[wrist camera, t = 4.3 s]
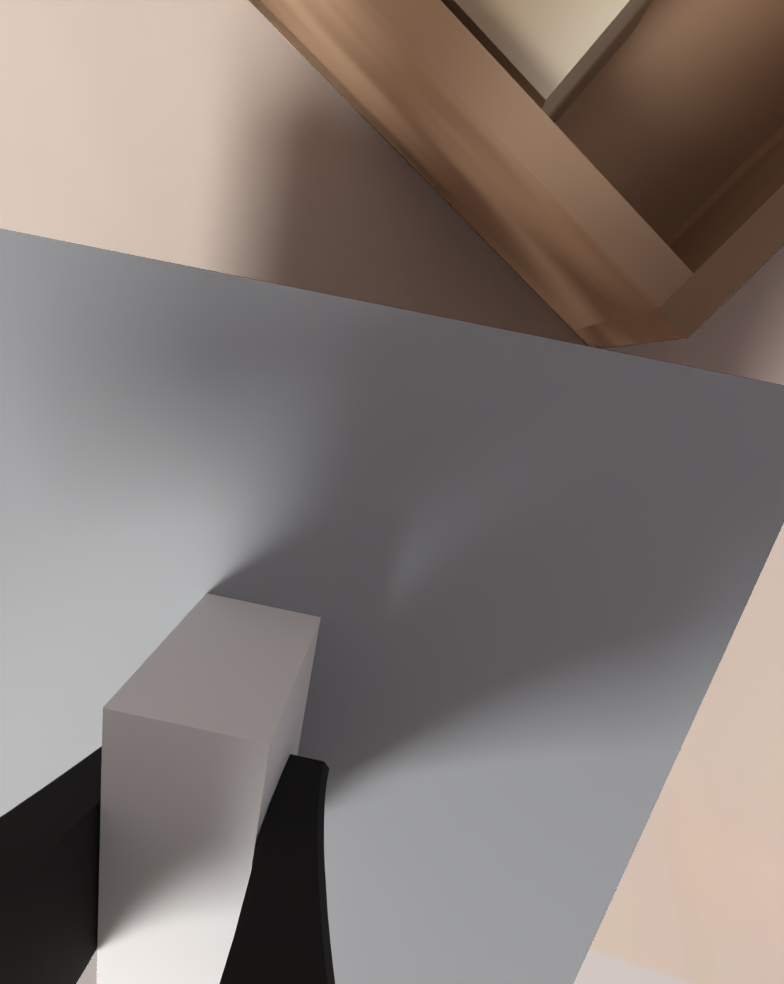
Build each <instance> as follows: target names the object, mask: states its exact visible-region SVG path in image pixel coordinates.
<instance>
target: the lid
mask: <svg viewBox="0 0 784 984" xmlns="http://www.w3.org/2000/svg"><path fill="white" fill-rule="evenodd" d="M783 523H784V385H779V384H774V383H769V382H764V381H759V380H754V379H749V378H744V377H739V376H734V375H729V374H724V373H719V372H714V371H709V370H704V369H699V368H694V367H689V366H684V365H679V364H674V363H669V362H664V361H659V360H654V359H649V358H644V357H639V356H634V355H629V354H624V353H619V352H614V351H609V350H604V349H599V348H594V347H589V346H584V345H579V344H574V343H569V342H564V341H559V340H554V339H549V338H544V337H539V336H534V335H529V334H524V333H519V332H514V331H509V330H504V329H499V328H494V327H489V326H484V325H479V324H474V323H469V322H464V321H459V320H454V319H449V318H444V317H439V316H434V315H429V314H424V313H419V312H414V311H409V310H404V309H399V308H394V307H389V306H384V305H379V304H374V303H369V302H364V301H359V300H354V299H349V298H344V297H339V296H334V295H329V294H324V293H319V292H314V291H309V290H305V289H300V288H295V287H290V286H285V285H280V284H275V283H270V282H265V281H260V280H255V279H250V278H245V277H240V276H235V275H230V274H225V273H220V272H215V271H210V270H205V269H200V268H195V267H190V266H185V265H180V264H175V263H170V262H165V261H160V260H155V259H150V258H145V257H140V256H135V255H130V254H125V253H120V252H115V251H110V250H105V249H100V248H95V247H90V246H85V245H80V244H75V243H70V242H65V241H60V240H55V239H50V238H45V237H40V236H35V235H30V234H25V233H20V232H15V231H10V230H5V229H0V817H1V816H2V815H4V814H5V813H7V812H8V811H10V810H11V809H13V808H14V807H16V806H17V805H19V804H20V803H21V802H23V801H24V800H26V799H27V798H29V797H30V796H32V795H33V794H35V793H36V792H38V791H39V790H40V789H42V788H43V787H45V786H46V785H48V784H49V783H51V782H52V781H53V780H55V779H56V778H58V777H59V776H60V775H62V774H63V773H65V772H66V771H67V770H69V769H70V768H72V767H73V766H75V765H76V764H77V763H79V762H80V761H82V760H83V759H84V758H86V757H87V756H88V755H90V754H91V753H93V752H94V751H95V750H97V749H98V748H100V747H101V746H102V765H101V809H100V854H99V899H98V944H97V950H96V951H95V953H94V955H93V956H92V958H91V960H95V961H97V984H219V983H220V980H221V977H222V974H223V971H224V967H225V964H226V961H227V957H228V954H229V951H230V948H231V944H232V941H233V938H234V934H235V930H236V927H237V923H238V919H239V915H240V911H241V908H242V904H243V900H244V896H245V893H246V889H247V885H248V881H249V878H250V874H251V870H252V866H253V862H254V859H255V855H256V851H257V847H258V844H259V840H260V836H261V832H262V829H263V825H264V821H265V817H266V814H267V810H268V806H269V803H270V801H271V798H272V796H273V793H274V791H275V788H276V786H277V784H278V781H279V779H280V776H281V774H282V771H283V769H284V767H285V765H286V762H287V760H288V758H289V756H290V754H292V755H297V756H301V757H306V758H311V759H315V760H320V761H324V762H325V763H326V764H327V766H328V767H329V774H328V779H327V785H326V794H325V810H324V858H325V877H326V893H327V909H328V921H329V932H330V943H331V952H332V960H333V969H334V978H335V984H573V983H574V981H575V979H576V977H577V974H578V972H579V970H580V968H581V965H582V963H583V961H584V959H585V957H586V954H587V952H588V950H589V948H590V946H591V944H592V941H593V939H594V937H595V935H596V933H597V930H598V928H599V926H600V924H601V922H602V920H603V917H604V915H605V913H606V911H607V909H608V906H609V904H610V902H611V900H612V898H613V895H614V893H615V891H616V889H617V887H618V884H619V882H620V880H621V878H622V876H623V874H624V871H625V869H626V867H627V865H628V863H629V860H630V858H631V856H632V854H633V852H634V849H635V847H636V845H637V843H638V841H639V838H640V836H641V834H642V832H643V830H644V827H645V825H646V823H647V821H648V819H649V817H650V814H651V812H652V810H653V808H654V806H655V803H656V801H657V799H658V797H659V795H660V792H661V790H662V788H663V786H664V784H665V781H666V779H667V777H668V775H669V773H670V771H671V768H672V766H673V764H674V762H675V760H676V757H677V755H678V753H679V751H680V749H681V746H682V744H683V742H684V740H685V738H686V735H687V733H688V731H689V729H690V727H691V724H692V722H693V720H694V718H695V716H696V714H697V711H698V709H699V707H700V705H701V703H702V700H703V698H704V696H705V694H706V692H707V689H708V687H709V685H710V683H711V681H712V678H713V676H714V674H715V672H716V670H717V667H718V665H719V663H720V661H721V659H722V657H723V654H724V652H725V650H726V648H727V646H728V643H729V641H730V639H731V637H732V635H733V632H734V630H735V628H736V626H737V624H738V621H739V619H740V617H741V615H742V613H743V611H744V608H745V606H746V604H747V602H748V600H749V597H750V595H751V593H752V591H753V589H754V586H755V584H756V582H757V580H758V578H759V575H760V573H761V571H762V569H763V567H764V564H765V562H766V560H767V558H768V556H769V554H770V551H771V549H772V547H773V545H774V543H775V540H776V538H777V536H778V534H779V532H780V529H781V527H782V525H783Z"/></svg>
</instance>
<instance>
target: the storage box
mask: <svg viewBox="0 0 784 984" xmlns="http://www.w3.org/2000/svg"><path fill="white" fill-rule="evenodd" d="M249 1H250V2H251V3H252V4H253V5H254V6H255V7H256V8H257V9H258V10H259V11H260V12H261V13H262V14H263V15H264V16H265V17H266V18H267V19H268V20H269V21H270V22H271V23H272V24H273V25H274V26H275V27H276V28H277V29H278V30H279V31H280V32H281V33H282V34H283V35H284V36H285V37H286V38H287V39H288V40H289V41H290V43H291V44H292V45H293V46H294V47H295V48H296V49H297V50H298V51H299V52H300V53H301V54H302V55H303V56H304V57H305V58H306V59H307V60H308V61H309V62H310V63H311V64H312V65H313V66H314V67H315V68H316V69H317V70H318V71H319V72H320V73H321V74H322V75H323V76H324V77H325V78H326V79H327V80H328V81H329V82H330V83H331V84H332V85H333V86H334V87H335V88H336V89H337V90H338V91H339V92H340V93H341V94H342V95H343V96H344V97H345V98H346V99H347V100H348V101H349V103H350V104H351V105H352V106H353V107H354V108H355V109H356V110H357V111H358V112H359V113H360V114H361V115H362V116H363V117H364V118H365V119H366V120H367V121H368V122H369V123H370V124H371V125H372V126H373V127H374V128H375V129H376V130H377V131H378V132H379V133H380V134H381V135H382V136H383V137H384V138H385V139H386V140H387V141H388V142H389V143H390V144H391V145H392V146H393V147H394V148H395V149H396V150H397V151H398V152H399V153H400V154H401V155H402V156H403V157H404V158H405V159H406V160H407V161H408V163H409V164H410V165H411V166H412V167H413V168H414V169H415V170H416V171H417V172H418V173H419V174H420V175H421V176H422V177H423V178H424V179H425V180H426V181H427V182H428V183H429V184H430V185H431V186H432V187H433V188H434V189H435V190H436V191H437V192H438V193H439V194H440V195H441V196H442V197H443V198H444V199H445V200H446V201H447V202H448V203H449V204H450V205H451V206H452V207H453V208H454V209H455V210H456V211H457V212H458V213H459V214H460V215H461V216H462V217H463V218H464V219H465V220H466V221H467V223H468V224H469V225H470V226H471V227H472V228H473V229H474V230H475V231H476V232H477V233H478V234H479V235H480V236H481V237H482V238H483V239H484V240H485V241H486V242H487V243H488V244H489V245H490V246H491V247H492V248H493V249H494V250H495V251H496V252H497V253H498V254H499V255H500V256H501V257H502V258H503V259H504V260H505V261H506V262H507V263H508V264H509V265H510V266H511V267H512V268H513V269H514V270H515V271H516V272H517V273H518V274H519V275H520V276H521V277H522V278H523V279H524V280H525V281H526V282H527V284H528V285H529V286H530V287H531V288H532V289H533V290H534V291H535V292H536V293H537V294H538V295H539V296H540V297H541V298H542V299H543V300H544V301H545V302H546V303H547V304H548V305H549V306H550V307H551V308H552V309H553V310H554V311H555V312H556V313H557V314H558V315H559V316H560V317H561V318H562V319H563V320H564V321H565V322H566V323H567V324H568V325H569V326H570V327H571V328H572V329H573V330H574V331H575V332H576V333H577V334H578V335H579V336H580V337H581V338H582V339H583V340H584V341H585V342H586V344H587V345H588V346H589V347H594V348H607V347H615V346H624V345H632V344H641V343H649V342H658V341H666V340H675V339H683V338H688V337H689V336H690V335H691V334H692V333H693V332H694V331H695V330H696V329H697V328H698V327H699V326H700V325H701V324H703V323H704V322H705V321H706V320H707V319H708V318H709V317H710V316H711V315H712V314H713V313H714V312H715V311H716V310H717V309H718V308H719V307H720V306H721V305H722V304H723V303H724V302H725V301H726V300H728V299H729V298H730V297H731V296H732V295H733V294H734V293H735V292H736V291H737V290H738V289H739V288H740V287H741V286H742V285H743V284H744V283H745V282H746V281H747V280H748V279H749V278H750V277H752V276H753V275H754V274H755V273H756V272H757V271H758V270H759V269H760V268H761V267H762V266H763V265H764V264H765V263H766V262H767V261H768V260H769V259H770V258H771V257H772V256H773V255H774V254H775V253H777V252H778V251H779V250H780V249H781V248H782V247H783V246H784V0H653V1H652V2H651V4H650V6H649V7H648V9H647V11H646V12H645V14H644V15H643V17H642V19H641V20H640V22H639V24H638V25H637V27H636V28H635V30H634V31H633V33H632V34H631V35H630V36H629V37H628V38H627V40H626V41H625V42H624V43H623V44H622V45H621V47H620V48H619V49H618V50H617V51H616V52H615V54H614V55H613V56H612V57H611V58H610V59H609V61H608V62H607V63H606V64H605V65H604V66H603V68H602V69H601V70H600V71H599V72H598V73H597V75H596V76H595V77H594V78H593V79H592V80H591V82H590V83H589V84H588V85H587V86H586V87H585V89H584V90H583V91H582V92H581V93H580V94H579V96H578V97H577V98H576V99H575V100H574V101H573V103H572V104H571V105H570V106H569V107H568V108H567V110H566V111H565V112H564V113H563V114H562V115H561V117H560V118H559V119H558V120H557V121H556V122H555V123H554V122H553V121H552V120H551V119H550V118H549V117H548V116H547V115H546V113H545V112H544V111H543V110H542V109H541V108H540V107H539V106H538V105H537V104H536V103H535V102H534V100H533V99H532V98H531V97H530V96H529V95H528V94H527V93H526V92H525V91H524V90H523V89H522V88H521V86H520V85H519V84H518V83H517V82H516V81H515V80H514V79H513V78H512V77H511V76H510V75H509V73H508V72H507V71H506V70H505V69H504V68H503V67H502V66H501V65H500V64H499V63H498V62H497V61H496V59H495V58H494V57H493V56H492V55H491V54H490V53H489V52H488V51H487V50H486V49H485V48H484V46H483V45H482V44H481V43H480V42H479V41H478V40H477V39H476V38H475V37H474V36H473V35H472V34H471V32H470V31H469V30H468V29H467V28H466V27H465V26H464V25H463V24H462V23H461V22H460V21H459V19H458V18H457V17H456V16H455V15H454V14H453V13H452V12H451V11H450V10H449V9H448V8H447V6H446V5H445V4H444V3H443V2H442V1H441V0H249Z"/></svg>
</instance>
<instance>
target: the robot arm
mask: <svg viewBox="0 0 784 984" xmlns="http://www.w3.org/2000/svg"><path fill="white" fill-rule="evenodd" d="M101 765H102V746H101V747H100V748H98V749H97V750H95V751H94V752H93V753H91V754H90V755H88V756H87V757H86V758H84V759H83V760H82V761H80V762H79V763H77V764H76V765H75V766H73V767H72V768H70V769H69V770H67V771H66V772H65V773H63V774H62V775H60V776H59V777H58V778H56V779H55V780H53V781H52V782H51V783H49V784H48V785H46V786H45V787H43V788H42V789H40V790H39V791H38V792H36V793H35V794H33V795H32V796H30V797H29V798H27V799H26V800H24V801H23V802H21V803H20V804H19V805H17V806H16V807H14V808H13V809H11V810H10V811H8V812H7V813H5V814H4V815H2V816H1V817H0V984H76V982H77V981H78V979H79V978H80V976H81V974H82V973H83V971H84V970H85V968H86V966H87V965H88V963H89V961H90V960H91V958H92V956H93V955H94V953H95V951H96V950H97V944H98V899H99V854H100V809H101ZM328 774H329V767H328V766H327V764H326V763H325V762H324V761H320V760H315V759H311V758H306V757H301V756H297V755H292V754H290V756H289V758H288V760H287V762H286V765H285V767H284V769H283V771H282V774H281V776H280V779H279V781H278V784H277V786H276V788H275V791H274V793H273V796H272V798H271V801H270V803H269V806H268V810H267V814H266V817H265V821H264V825H263V829H262V832H261V836H260V840H259V844H258V847H257V851H256V855H255V859H254V862H253V866H252V870H251V874H250V878H249V881H248V885H247V889H246V893H245V896H244V900H243V904H242V908H241V911H240V915H239V919H238V923H237V927H236V930H235V934H234V938H233V941H232V944H231V948H230V951H229V954H228V957H227V961H226V964H225V967H224V971H223V974H222V977H221V980H220V983H219V984H335V978H334V969H333V960H332V952H331V943H330V932H329V921H328V909H327V893H326V877H325V858H324V810H325V794H326V785H327V779H328Z"/></svg>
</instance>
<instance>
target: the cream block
mask: <svg viewBox="0 0 784 984" xmlns="http://www.w3.org/2000/svg"><path fill="white" fill-rule="evenodd" d="M441 1H442V2H443V3H444V4H445V5H446V6H447V8H448V9H449V10H450V11H451V12H452V13H453V14H454V15H455V16H456V17H457V18H458V19H459V21H460V22H461V23H462V24H463V25H464V26H465V27H466V28H467V29H468V30H469V31H470V32H471V34H472V35H473V36H474V37H475V38H476V39H477V40H478V41H479V42H480V43H481V44H482V45H483V46H484V48H485V49H486V50H487V51H488V52H489V53H490V54H491V55H492V56H493V57H494V58H495V59H496V61H497V62H498V63H499V64H500V65H501V66H502V67H503V68H504V69H505V70H506V71H507V72H508V73H509V75H510V76H511V77H512V78H513V79H514V80H515V81H516V82H517V83H518V84H519V85H520V86H521V88H522V89H523V90H524V91H525V92H526V93H527V94H528V95H529V96H530V97H531V98H532V99H533V100H534V102H535V103H536V104H537V105H538V106H539V107H540V108H541V109H542V110H543V111H544V112H545V113H546V115H547V116H548V117H549V118H550V119H551V120H552V121H553V122H554V123H555V122H556V121H557V120H558V119H559V118H560V117H561V115H562V114H563V113H564V112H565V111H566V110H567V108H568V107H569V106H570V105H571V104H572V103H573V101H574V100H575V99H576V98H577V97H578V96H579V94H580V93H581V92H582V91H583V90H584V89H585V87H586V86H587V85H588V84H589V83H590V82H591V80H592V79H593V78H594V77H595V76H596V75H597V73H598V72H599V71H600V70H601V69H602V68H603V66H604V65H605V64H606V63H607V62H608V61H609V59H610V58H611V57H612V56H613V55H614V54H615V52H616V51H617V50H618V49H619V48H620V47H621V45H622V44H623V43H624V42H625V41H626V40H627V38H628V37H629V36H630V35H631V34H632V33H633V31H634V30H635V28H636V27H637V25H638V24H639V22H640V20H641V19H642V17H643V15H644V14H645V12H646V11H647V9H648V7H649V6H650V4H651V2H652V1H653V0H441Z"/></svg>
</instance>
